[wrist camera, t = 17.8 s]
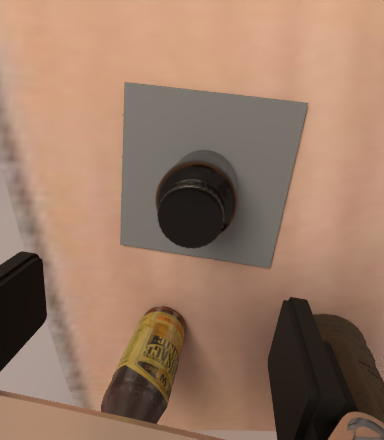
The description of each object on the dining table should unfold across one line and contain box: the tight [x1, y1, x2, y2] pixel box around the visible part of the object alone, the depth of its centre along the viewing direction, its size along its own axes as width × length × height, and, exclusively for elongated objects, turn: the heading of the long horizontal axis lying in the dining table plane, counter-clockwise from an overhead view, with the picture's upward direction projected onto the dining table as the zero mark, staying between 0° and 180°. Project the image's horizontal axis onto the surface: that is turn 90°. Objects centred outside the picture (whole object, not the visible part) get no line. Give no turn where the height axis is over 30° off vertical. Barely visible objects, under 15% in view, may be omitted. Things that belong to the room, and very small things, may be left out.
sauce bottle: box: [101, 307, 185, 424], centre depth 31 cm, size 7×6×20 cm
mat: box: [120, 82, 308, 268], centre depth 32 cm, size 18×18×1 cm
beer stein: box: [313, 314, 384, 423], centre depth 29 cm, size 15×11×20 cm
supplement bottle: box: [155, 150, 238, 249], centre depth 26 cm, size 7×7×12 cm
